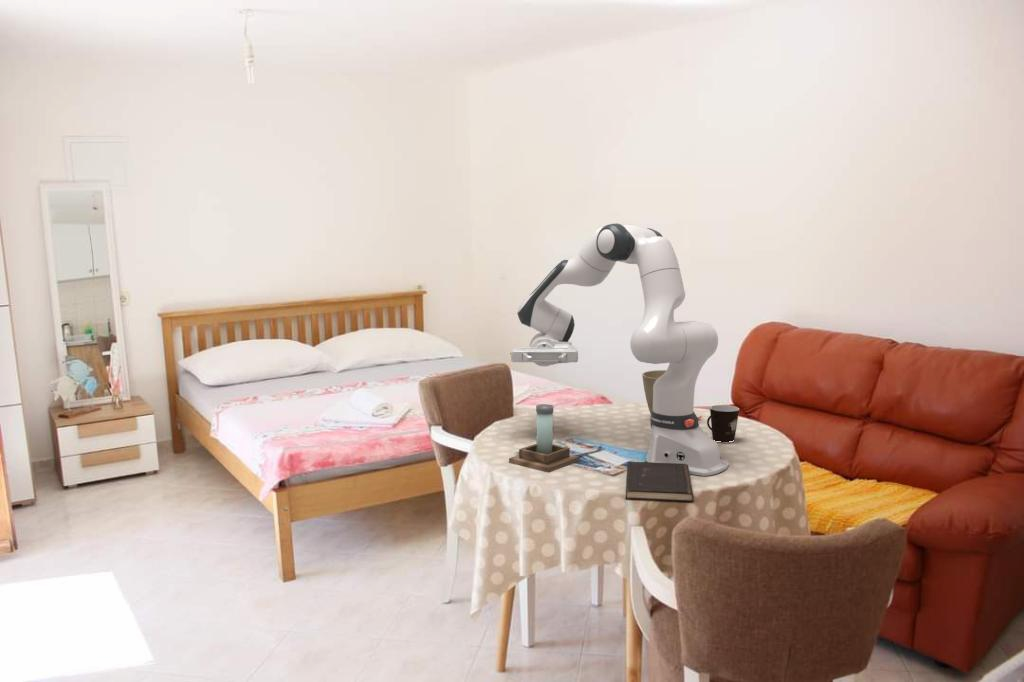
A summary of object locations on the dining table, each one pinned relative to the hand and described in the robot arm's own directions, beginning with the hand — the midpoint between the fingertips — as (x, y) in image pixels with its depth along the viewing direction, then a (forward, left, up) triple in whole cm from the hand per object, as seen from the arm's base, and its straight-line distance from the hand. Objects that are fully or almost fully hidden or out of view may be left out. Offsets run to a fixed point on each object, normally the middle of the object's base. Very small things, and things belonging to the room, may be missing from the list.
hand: (545, 359), depth 249 cm
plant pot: (-12, -48, -26) cm, 56 cm away
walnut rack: (-10, +13, -26) cm, 31 cm away
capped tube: (-10, +13, -25) cm, 30 cm away
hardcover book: (-46, +11, -26) cm, 54 cm away
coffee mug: (-37, -38, -26) cm, 59 cm away
